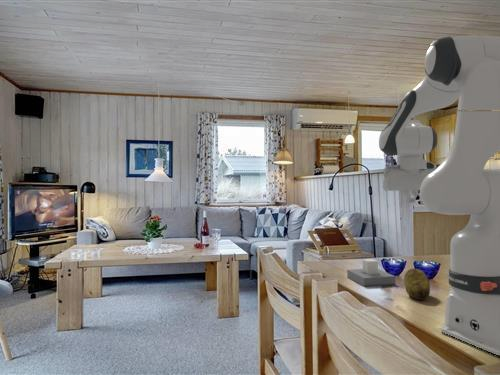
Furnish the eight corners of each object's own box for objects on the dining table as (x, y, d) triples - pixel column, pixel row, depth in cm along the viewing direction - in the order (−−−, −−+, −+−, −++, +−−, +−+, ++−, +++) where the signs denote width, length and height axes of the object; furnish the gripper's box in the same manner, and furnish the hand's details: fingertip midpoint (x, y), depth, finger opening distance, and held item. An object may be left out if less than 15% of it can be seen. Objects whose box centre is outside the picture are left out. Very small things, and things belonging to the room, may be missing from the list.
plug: (378, 280, 138) (377, 261, 138) (367, 281, 137) (367, 261, 137) (372, 277, 142) (372, 258, 142) (362, 278, 141) (362, 259, 141)
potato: (399, 299, 116) (399, 273, 116) (405, 289, 127) (405, 266, 127) (429, 303, 112) (428, 276, 112) (432, 292, 123) (432, 268, 123)
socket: (395, 284, 134) (395, 275, 134) (364, 286, 132) (363, 277, 132) (376, 275, 148) (375, 267, 148) (347, 277, 146) (347, 268, 146)
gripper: (388, 164, 132) (389, 203, 132) (440, 164, 136) (441, 202, 136) (379, 165, 139) (379, 203, 139) (429, 165, 142) (430, 202, 142)
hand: (410, 202), depth 137 cm, fingers closed
